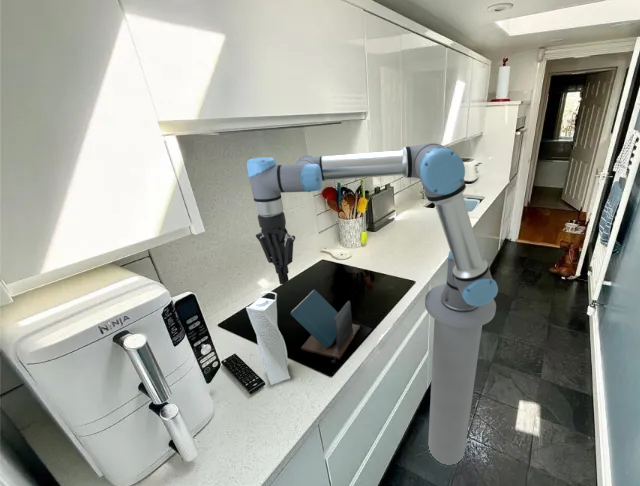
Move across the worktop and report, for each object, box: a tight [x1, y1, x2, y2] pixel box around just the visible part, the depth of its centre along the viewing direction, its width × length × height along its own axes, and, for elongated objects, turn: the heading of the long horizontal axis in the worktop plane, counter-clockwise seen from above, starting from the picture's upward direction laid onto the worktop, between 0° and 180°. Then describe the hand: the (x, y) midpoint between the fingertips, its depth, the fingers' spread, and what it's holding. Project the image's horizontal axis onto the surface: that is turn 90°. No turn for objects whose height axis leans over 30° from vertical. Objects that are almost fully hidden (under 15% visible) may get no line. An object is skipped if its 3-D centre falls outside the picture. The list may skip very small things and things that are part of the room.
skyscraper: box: [245, 290, 291, 386], centre depth 84 cm, size 8×8×28 cm
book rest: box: [300, 300, 361, 360], centre depth 101 cm, size 14×16×13 cm
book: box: [290, 289, 339, 348], centre depth 102 cm, size 3×12×16 cm
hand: (284, 282), depth 100 cm, fingers closed
